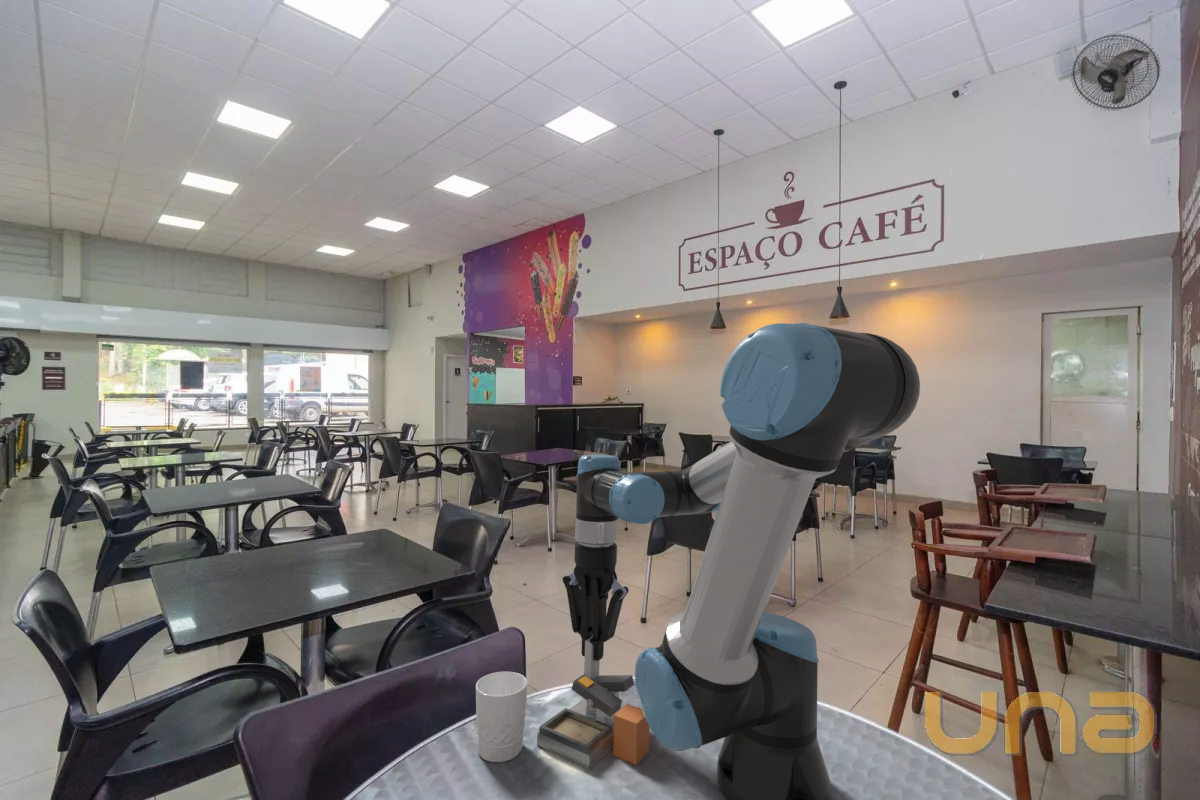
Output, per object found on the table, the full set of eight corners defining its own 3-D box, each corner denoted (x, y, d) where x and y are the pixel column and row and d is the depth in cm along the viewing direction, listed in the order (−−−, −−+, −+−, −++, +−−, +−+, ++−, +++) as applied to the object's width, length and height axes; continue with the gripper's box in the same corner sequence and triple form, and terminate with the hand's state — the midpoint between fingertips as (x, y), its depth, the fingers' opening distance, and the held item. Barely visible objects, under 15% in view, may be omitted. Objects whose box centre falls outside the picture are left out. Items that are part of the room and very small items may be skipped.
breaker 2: (635, 687, 91) (632, 674, 91) (625, 696, 88) (622, 682, 88) (598, 687, 95) (595, 674, 95) (587, 695, 92) (584, 682, 92)
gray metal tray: (640, 722, 90) (640, 697, 90) (589, 769, 77) (589, 740, 78) (591, 704, 95) (592, 680, 96) (537, 745, 83) (537, 717, 83)
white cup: (515, 769, 77) (516, 699, 78) (465, 761, 79) (466, 692, 79) (532, 737, 85) (534, 674, 85) (486, 731, 87) (488, 668, 87)
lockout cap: (649, 751, 82) (649, 711, 82) (636, 765, 79) (636, 723, 79) (626, 742, 84) (627, 703, 85) (613, 755, 81) (614, 715, 81)
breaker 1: (619, 711, 87) (623, 698, 87) (608, 721, 84) (611, 707, 84) (581, 684, 91) (585, 672, 91) (569, 693, 89) (573, 680, 88)
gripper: (638, 544, 94) (634, 679, 93) (579, 532, 101) (574, 658, 100) (615, 552, 88) (610, 697, 87) (554, 539, 95) (549, 673, 94)
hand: (591, 676), depth 94 cm, fingers closed
